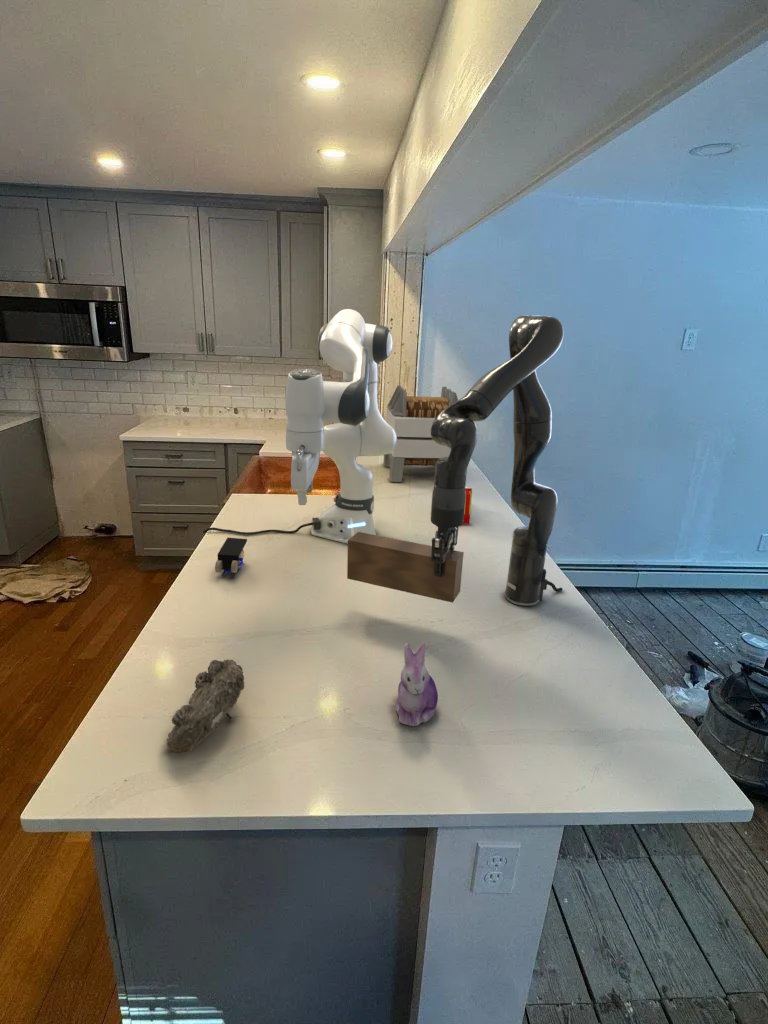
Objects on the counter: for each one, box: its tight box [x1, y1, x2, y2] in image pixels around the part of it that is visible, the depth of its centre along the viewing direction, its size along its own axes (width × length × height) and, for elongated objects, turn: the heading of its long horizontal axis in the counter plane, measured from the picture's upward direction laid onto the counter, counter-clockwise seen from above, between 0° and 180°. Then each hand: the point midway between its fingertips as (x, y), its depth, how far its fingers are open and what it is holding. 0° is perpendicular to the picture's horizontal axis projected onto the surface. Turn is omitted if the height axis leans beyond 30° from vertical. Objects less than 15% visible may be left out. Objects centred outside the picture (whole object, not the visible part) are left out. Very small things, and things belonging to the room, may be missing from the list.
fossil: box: [166, 658, 245, 754], centre depth 106 cm, size 22×10×15 cm
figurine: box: [395, 642, 439, 727], centre depth 109 cm, size 9×10×15 cm
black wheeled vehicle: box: [214, 537, 248, 578], centre depth 166 cm, size 7×8×15 cm
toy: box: [462, 485, 473, 525], centre depth 222 cm, size 12×13×30 cm
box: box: [346, 532, 465, 604], centre depth 138 cm, size 28×6×10 cm, turn 67°
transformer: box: [383, 384, 459, 483], centre depth 268 cm, size 34×33×41 cm
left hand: (305, 497), depth 136 cm, fingers open, 8 cm apart
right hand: (443, 569), depth 134 cm, fingers closed on box, 6 cm apart
